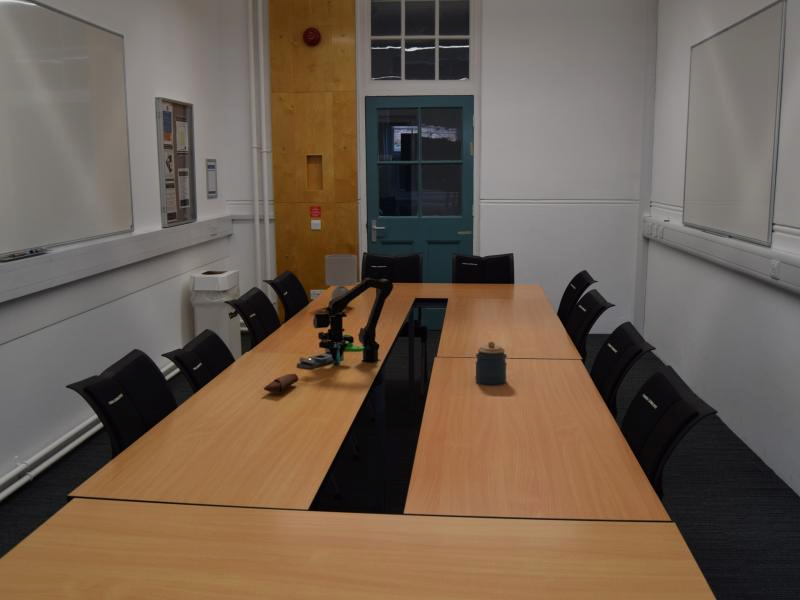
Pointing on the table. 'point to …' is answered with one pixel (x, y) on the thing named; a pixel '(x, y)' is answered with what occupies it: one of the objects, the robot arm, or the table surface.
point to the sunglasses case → (281, 383)
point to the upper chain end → (324, 356)
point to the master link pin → (338, 356)
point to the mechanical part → (352, 347)
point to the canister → (491, 365)
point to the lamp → (340, 272)
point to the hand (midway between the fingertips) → (336, 360)
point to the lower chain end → (311, 363)
